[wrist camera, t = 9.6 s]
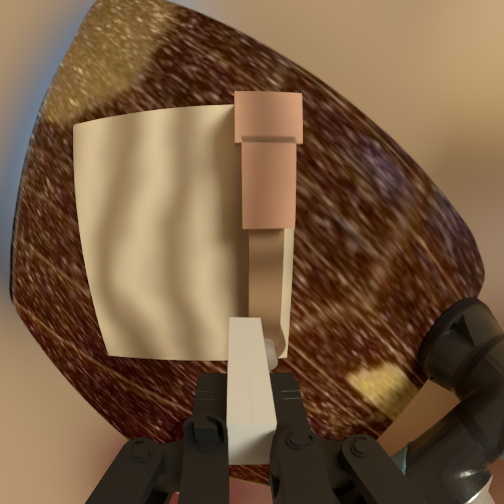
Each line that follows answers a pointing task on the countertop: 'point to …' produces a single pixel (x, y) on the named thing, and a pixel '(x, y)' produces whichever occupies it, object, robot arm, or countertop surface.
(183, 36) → the countertop surface
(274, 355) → the link
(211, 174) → the board
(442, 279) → the countertop surface
